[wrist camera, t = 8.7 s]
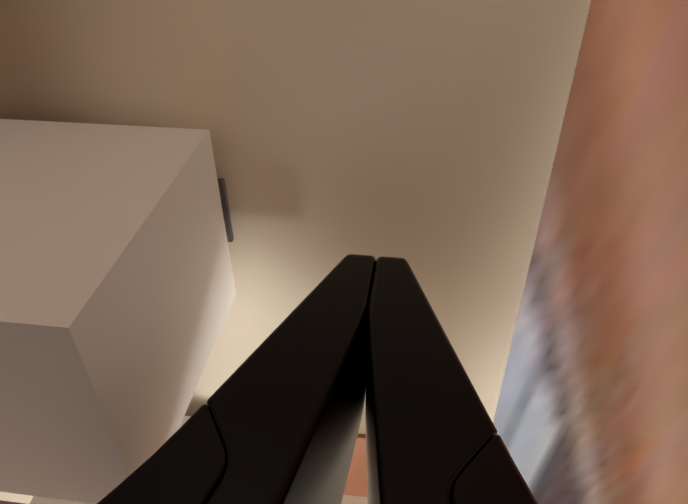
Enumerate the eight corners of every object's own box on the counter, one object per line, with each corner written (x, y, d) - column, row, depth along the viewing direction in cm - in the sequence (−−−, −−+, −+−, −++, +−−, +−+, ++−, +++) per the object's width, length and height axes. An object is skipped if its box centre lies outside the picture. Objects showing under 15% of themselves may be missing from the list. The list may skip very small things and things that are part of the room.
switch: (28, 276, 11) (-143, 473, 8) (-41, 116, 9) (-309, 292, 6) (235, 293, 11) (144, 510, 7) (209, 129, 9) (68, 327, 5)
